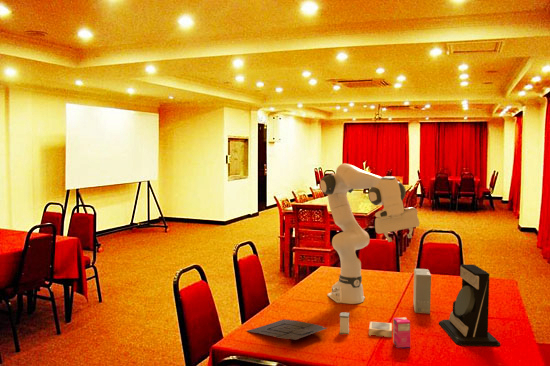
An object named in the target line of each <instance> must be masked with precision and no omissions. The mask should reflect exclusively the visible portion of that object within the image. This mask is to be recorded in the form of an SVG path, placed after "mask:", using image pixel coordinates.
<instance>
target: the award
mask: <svg viewBox="0 0 550 366" xmlns="http://www.w3.org/2000/svg"><path fill="white" fill-rule="evenodd" d="M459 278H461V289H460V290H459V291H458V293H457V296H456V299H455V301H453V302H452V311H451V312H450V315H449V319H442V320H440V321H438V325H439V326H440V327H441V328H442V330H443V331H445V332H446V334H447V335H448V337H450V339H452V340H453V342H454V343H455V344H456V345H458V346H462V347H500V346H501V342H499V341H498V339H497V338H496V337H494V335H492V334H491V333H490V332H489V304H490V303H489V300H490V299H489V298H490V273H489V272H488V271H486V270H484V269H482V268H480V267H479V265H475V264H464V263H463V264H461V265H460V277H459Z"/></svg>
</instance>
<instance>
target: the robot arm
mask: <svg viewBox="0 0 550 366" xmlns="http://www.w3.org/2000/svg"><path fill="white" fill-rule="evenodd" d="M319 186H320V190H321V191H322V193H323V194H324V195H327V200H328V205H329V210H330V213H331V215H332V218H333V222H334V224H335V225H336V226H338V227H339V228H340V229H341V230H342V231H341V232H339V233H337V234H335V235H334V236H333V237H332V239H331V245H332V247H333V249H334V250H335V251H336V252H337V254H338V256H339V260H340V274H339V275H338V281H336V282H335V283H334V284H332V286H331V292H328V293H327V297H329V298H330V299H332V300H333V301H334V302H335V303H337V304H347V305H349V304H350V305H351V304H352V305H354V304H361V303H363V302H364V301H365V299H366V297H365V295H364V287H363V284H362V280H363V278H362V277H363V276H362V262H361V260H360V258H358V256H357V254H356V251H358V250H361V249H364V248H365V247H368V245H369V244H370V235H369V233H368V232H367V231H366V230H365V229H364V228H362V227H361V226H360V225H359V223H358V221H357V220H356V218H355V216H354V213H353V211H352V208H351V204H350V202H349V200H348V197H347V196H348V193H349V194H351V193H353V191H354V190H355V191H356V190H364V189H369V191H368V200H369V202H370V203H371V204H372V205H374V206H382V205H383V208H382V209H381V210H378V211H377V212H375V214H374V215H375V217H376V218H375V219H374V227H375V228H374V229H375V233H377V234H378V235H380V234H384V236H385V238H387V242H388V243H390V242H393V239H392V237H389V233H391V232H396V231H401V230H409V233H407V234H406V235H407V238H408V239H412V238H413V236H412V235H413V231H414V228H417V227H419V226H420V224H421V223H420V219H419V216H418V210H417V208H415V207H414V206H413V207H412V206H411V207H405V208H404V202H403V200H404V199H405V196H406V194H407V193H406V192H407V190H406V187H405V186H404V184H403V183H402V182H400V181H398V179H397V177H396V176H392V175H389V176H388V175H387V176H380V175H377V174H374V173H371V172H368V171H366V170H363V169H360V168H359V167H357V166H355V165H354V164H353V165H352V164H350V163H345V162H344V163H342V164H340V165H338V166H337V167H336V171H335V173H332V174H328V175H325V176H323V177H322V178H321V179H320V182H319Z"/></svg>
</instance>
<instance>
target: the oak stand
mask: <svg viewBox="0 0 550 366" xmlns="http://www.w3.org/2000/svg"><path fill="white" fill-rule="evenodd" d="M371 335H376V336H375V337H383V336H384V337H385V338H393V323H392V322H381V321H369V327H368V336H371ZM384 337H383V338H384Z"/></svg>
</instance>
